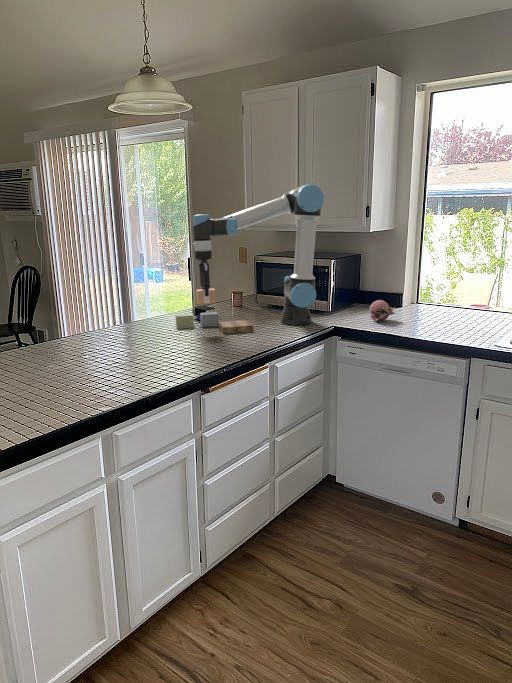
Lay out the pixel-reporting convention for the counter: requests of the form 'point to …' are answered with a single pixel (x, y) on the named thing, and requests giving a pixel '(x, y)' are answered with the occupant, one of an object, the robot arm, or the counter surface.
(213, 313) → the grey brick
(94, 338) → the counter surface
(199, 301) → the terracotta brick
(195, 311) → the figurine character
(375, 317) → the toy
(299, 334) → the counter surface
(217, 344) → the counter surface
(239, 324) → the walnut board
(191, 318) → the olive brick
